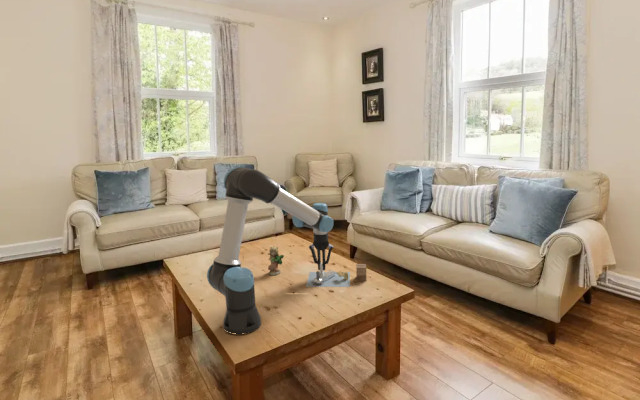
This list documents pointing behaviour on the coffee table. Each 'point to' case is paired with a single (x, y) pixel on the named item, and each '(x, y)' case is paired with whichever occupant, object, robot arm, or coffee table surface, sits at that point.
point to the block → (361, 272)
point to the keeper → (343, 275)
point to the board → (331, 282)
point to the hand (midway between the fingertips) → (321, 275)
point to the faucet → (324, 277)
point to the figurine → (274, 261)
